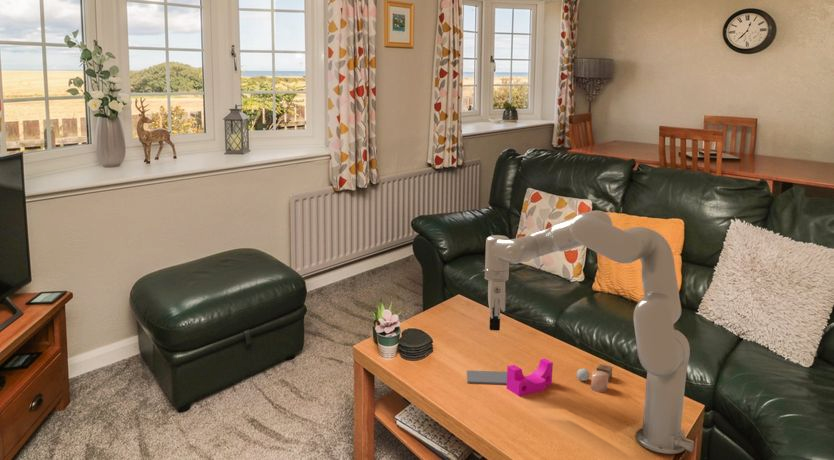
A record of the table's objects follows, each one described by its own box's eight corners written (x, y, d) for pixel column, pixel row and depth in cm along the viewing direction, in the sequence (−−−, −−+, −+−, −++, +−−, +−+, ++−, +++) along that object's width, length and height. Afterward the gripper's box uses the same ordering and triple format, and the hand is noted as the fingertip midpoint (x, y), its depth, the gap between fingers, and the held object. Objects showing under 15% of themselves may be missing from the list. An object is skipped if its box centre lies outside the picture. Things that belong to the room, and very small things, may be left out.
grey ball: (591, 381, 188) (592, 369, 187) (584, 384, 186) (584, 372, 185) (581, 377, 191) (582, 365, 190) (573, 379, 189) (574, 368, 188)
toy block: (518, 396, 176) (519, 373, 175) (506, 389, 182) (507, 366, 180) (556, 387, 183) (558, 365, 182) (544, 380, 188) (545, 358, 187)
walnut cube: (611, 378, 191) (612, 366, 190) (608, 382, 187) (609, 370, 187) (599, 375, 193) (600, 364, 192) (595, 379, 189) (596, 367, 189)
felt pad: (517, 373, 193) (517, 372, 193) (520, 385, 184) (520, 383, 184) (466, 372, 194) (466, 370, 194) (467, 383, 185) (467, 381, 185)
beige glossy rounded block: (610, 389, 182) (611, 374, 181) (601, 393, 179) (602, 378, 178) (596, 384, 186) (597, 369, 185) (587, 388, 182) (588, 373, 182)
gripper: (510, 280, 176) (508, 337, 179) (506, 269, 191) (504, 322, 194) (486, 279, 177) (484, 337, 179) (483, 268, 191) (481, 322, 194)
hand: (494, 329), depth 187 cm, fingers closed
